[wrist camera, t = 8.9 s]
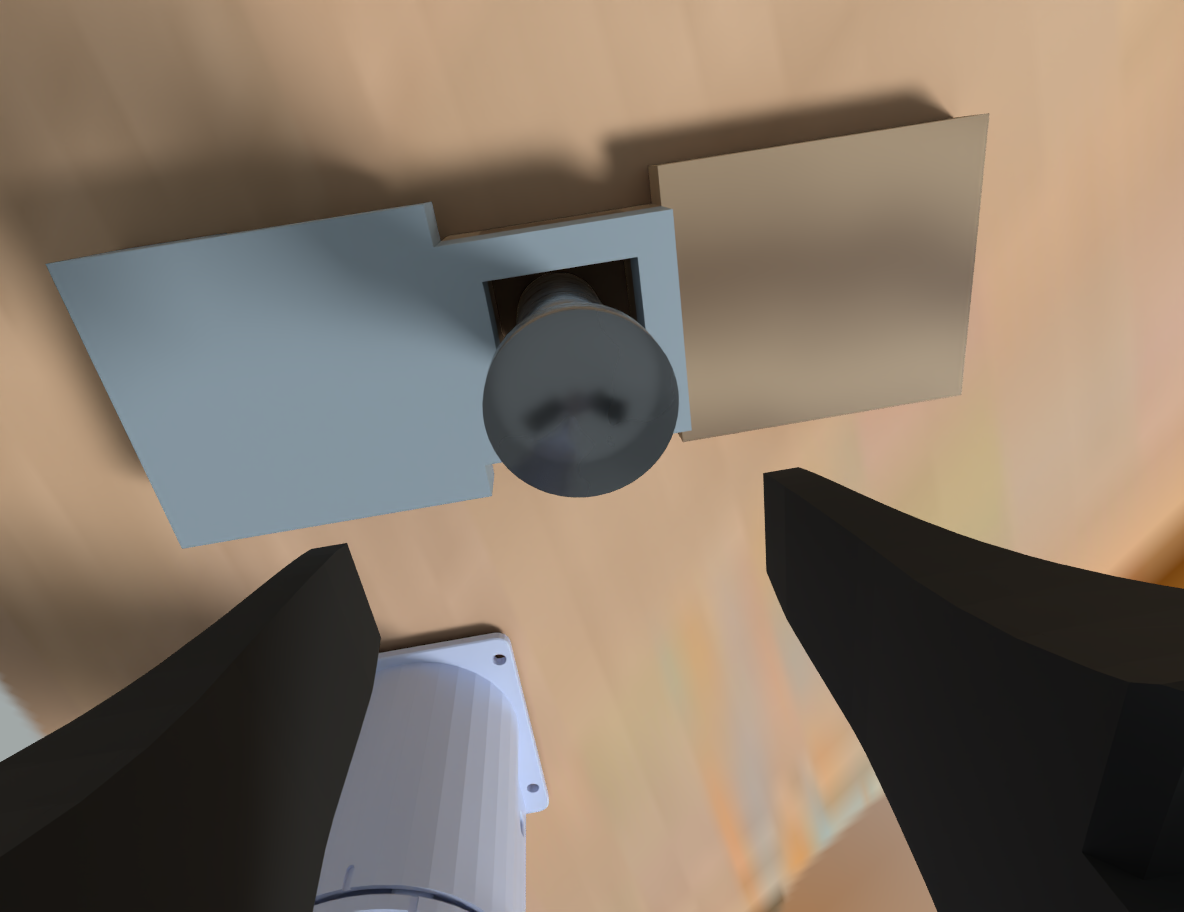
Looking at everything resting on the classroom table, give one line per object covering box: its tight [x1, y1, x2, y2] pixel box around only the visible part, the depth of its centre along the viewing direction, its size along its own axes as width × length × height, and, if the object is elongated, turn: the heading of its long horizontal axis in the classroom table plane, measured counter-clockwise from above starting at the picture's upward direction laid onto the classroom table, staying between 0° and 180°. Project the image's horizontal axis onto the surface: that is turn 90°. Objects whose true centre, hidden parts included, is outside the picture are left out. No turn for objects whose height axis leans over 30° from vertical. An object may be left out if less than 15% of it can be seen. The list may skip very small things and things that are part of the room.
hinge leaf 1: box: [46, 202, 692, 549], centre depth 18 cm, size 8×15×3 cm, turn 98°
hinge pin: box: [482, 272, 679, 497], centre depth 16 cm, size 4×4×9 cm
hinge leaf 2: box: [442, 113, 989, 442], centre depth 19 cm, size 8×15×2 cm, turn 98°
